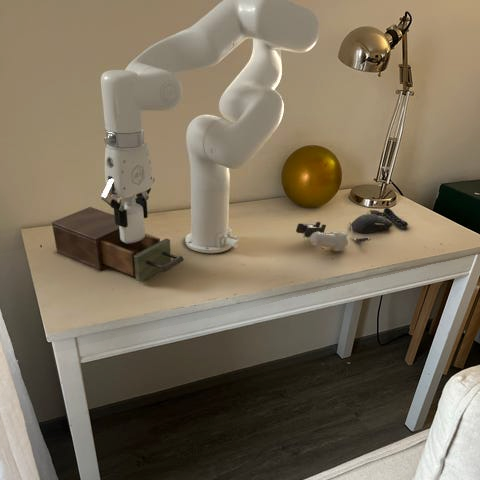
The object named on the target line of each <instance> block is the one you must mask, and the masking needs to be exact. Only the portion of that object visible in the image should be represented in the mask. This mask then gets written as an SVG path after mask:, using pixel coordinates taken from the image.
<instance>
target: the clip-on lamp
mask: <svg viewBox="0 0 480 480" xmlns="http://www.w3.org/2000/svg"><path fill="white" fill-rule="evenodd" d="M351 223H352V222H350V221H349V222H348V223H347V227H346V233H345V232H343V231H340V230H339V231H331V232H325V230H326V228H327V225H326V224H325V223H324V224H321V222H320V221H316V222H315V224H312V223H300V222H299V223H298V224H297V226H296V229H295V232H296V233H297V234H302V236H303V241H304V243H305V242H308V241H310V244H311V245H312V246H314V247H315V246H316V247H324V248H330V249H331V251H333V252H342V251H345V249H346V248H347V246H348V244H349V239H348V236H349V235H348V233H349V228H350V231H351V237H352V239H353V240H354V241H356V242H359V243H362V242H368V241H371V238H369V237H359V238H355V236H354V230H353V229H352V225H351ZM350 226H351V227H350ZM306 238H307V239H306Z"/></svg>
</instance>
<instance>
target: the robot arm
mask: <svg viewBox="0 0 480 480" xmlns="http://www.w3.org/2000/svg"><path fill="white" fill-rule="evenodd" d="M320 29H321V27H320V21H319V19H318V17H317V15H316V13H315V12H314V11H313V10H311V8H308V7H305V6H303V5H300V4H298V3H296V2H294V1H291V0H222V1H220V2H219V3H218V4H217V5H216V6H214V7H213V8H212V9H211V10H210V11H209V12H208V13H206V14H205V15H204V16H202V17H201V18H200V19H199V20H198V21H197V22H195V23H194V24H193V25H191V26H190V27H187V28H185V29H183V30H181V31H179V32H177V33H174V34H173V35H170V36H168V37H165V38H163V39H161V40H159V41H158V42H155V43H154V44H152V45H150V46H148V47H147V48H146V49H145V50H143V52H141V53H140V54H139V55H137V57H135V58H134V59H133V60H132V61H131V62H130V63H129V64H128V65H127V66H126V68H125V69H110V70H106V71H104V72H103V73H102V74H101V77H100V88H101V100H102V108H103V109H102V110H103V119H104V128H105V137H104V138H103V142H104V143H105V145H106V146H105V149H104V150H105V151H104V181H105V188H104V190H103V192H102V194H101V196H100V197H101V200H102V201H103V202H104V203H106V204H107V205H109V206H110V208H112V209H113V215H114V216H115V224H116V225H119V226H122V227H124V228H126V227H127V226H128V222H127V211H126V210H125V209H124V206H125V200H126V198H129V197H132V196H134V195H135V199H136V203H137V204H140V205H141V206H142V207H143V213H144V219H147V218H148V217H149V216H148V214H149V213H148V200H149V199H150V197H149V195H150V192H151V190H152V187H153V185H154V183H155V178H154V176H153V168H152V161H151V154H150V150H149V147H148V143H147V142H146V141H145V134H144V132H145V131H144V116H143V115H144V113H143V112H144V111H152V112H153V111H155V112H166V111H170V110H172V109H174V108H175V107H177V106H178V104H179V103H180V102H181V101H182V98H183V86H182V83H181V81H180V79H179V78H178V77H177V76H176V75H178V74H180V73H184V72H190V71H196V70H204V69H207V68H211V67H215V66H216V65H217V64H219V63H220V62H221V61H222V60H224V58H225V57H227V56H228V55H229V54H230V53H231V52H232V51H234V50H235V49H236V48H237V47H238V46H239V45H241V44H242V43H243V42H244V41H245V40H247V39H252V53H251V56H250V58H249V60H248V61H247V63H246V65H245V66H244V67H243V69H241V71H240V72H239V73H238V74H237V76H236V77H235V78H234V79H233V81H232V82H231V83H230V84H229V85H228V86H227V88H226V89H225V90H224V92H223V93H222V95H221V96H220V98H219V102H218V110H219V112H220V114H221V116H222V117H223V118H222V117H220V116H217V115H213V114H201V115H198V116H196V117H194V118H193V119H192V120H191V121H190V122H189V124H188V126H187V129H186V134H185V143H186V149H187V154H188V159H189V166H190V167H189V168H190V169H189V170H190V232H189V233H187V234H186V236H185V239H184V240H185V245H186V246H187V247H188V248H189V249H190V250H192V251H195V252H198V253H201V254H219V253H223V252H226V251H228V250H230V249H231V248H234V249H237V248H238V247H239V244H240V240H241V239H240V236H237V235H233V233H232V232H233V229H232V227H229V215H230V214H229V213H230V211H229V210H230V185H231V175H230V170H239V169H242V168H243V167H246V166H247V165H248V164H249V163H250V162H251V161H252V160H253V158H254V157H256V156H257V154H258V152H260V150H261V149H263V147H264V146H265V144H266V143H267V142H268V141H269V139H270V138H271V137H272V136H273V135H274V133H275V132H276V131H277V129H278V127H279V126H280V124H281V121H282V119H283V115H284V106H285V105H284V100H283V98H282V96H281V94H280V93H279V92H278V91H277V90H276V88H277V87H278V85H279V84H280V81H281V79H282V74H283V66H282V51H286V52H292V53H297V54H298V53H299V54H303V53H306V52H309V51H311V49H313V48H314V47H315V45H316V44H317V42H318V39H319V37H320ZM118 200H119V201H118Z"/></svg>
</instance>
